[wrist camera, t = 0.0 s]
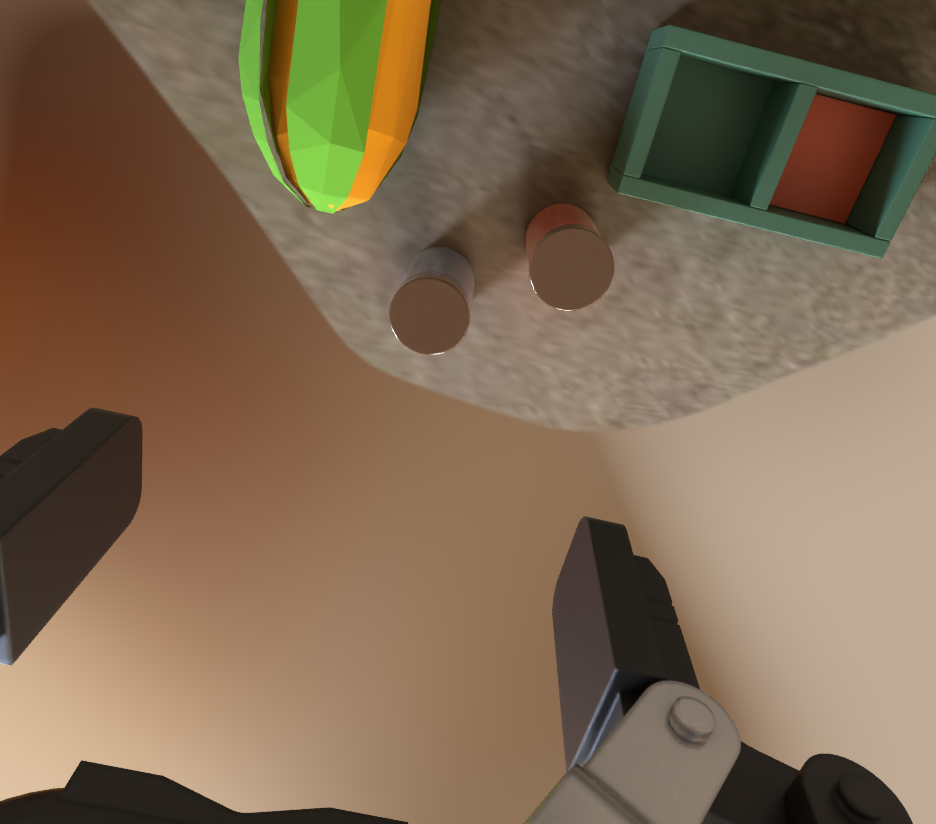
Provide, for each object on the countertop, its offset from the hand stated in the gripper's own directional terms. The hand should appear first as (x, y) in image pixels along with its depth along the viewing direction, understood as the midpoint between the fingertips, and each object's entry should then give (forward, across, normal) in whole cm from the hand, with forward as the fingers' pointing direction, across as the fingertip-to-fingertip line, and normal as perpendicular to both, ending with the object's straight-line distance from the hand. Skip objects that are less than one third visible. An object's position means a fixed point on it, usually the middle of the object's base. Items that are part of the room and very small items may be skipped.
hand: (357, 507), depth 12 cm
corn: (+25, +6, -10) cm, 28 cm away
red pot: (+25, -6, -1) cm, 25 cm away
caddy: (+25, -13, -7) cm, 29 cm away
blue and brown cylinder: (+25, 0, +3) cm, 25 cm away
